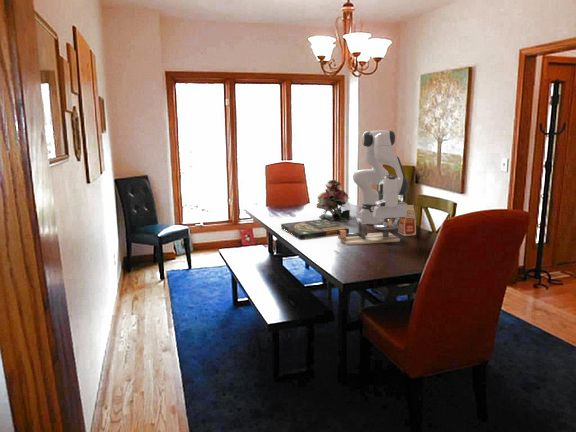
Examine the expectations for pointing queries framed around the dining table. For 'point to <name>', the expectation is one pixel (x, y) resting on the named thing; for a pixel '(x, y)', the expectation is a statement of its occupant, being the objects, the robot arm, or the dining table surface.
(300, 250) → the dining table surface
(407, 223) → the milk carton
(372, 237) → the base board
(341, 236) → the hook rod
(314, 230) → the pizza box
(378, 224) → the handwheel
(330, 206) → the rose bouquet
